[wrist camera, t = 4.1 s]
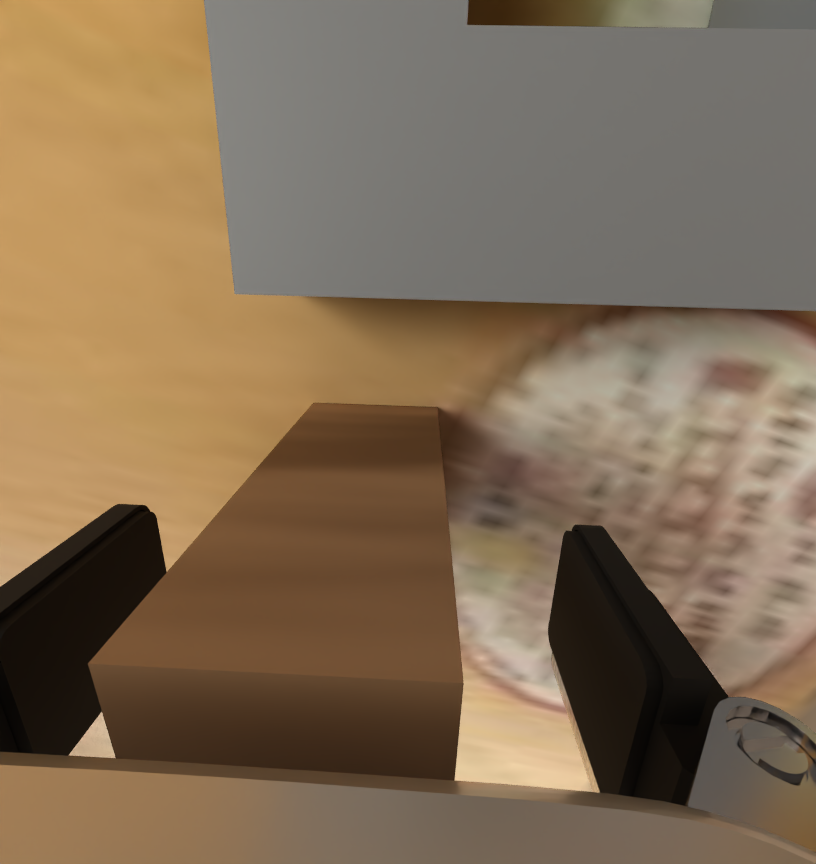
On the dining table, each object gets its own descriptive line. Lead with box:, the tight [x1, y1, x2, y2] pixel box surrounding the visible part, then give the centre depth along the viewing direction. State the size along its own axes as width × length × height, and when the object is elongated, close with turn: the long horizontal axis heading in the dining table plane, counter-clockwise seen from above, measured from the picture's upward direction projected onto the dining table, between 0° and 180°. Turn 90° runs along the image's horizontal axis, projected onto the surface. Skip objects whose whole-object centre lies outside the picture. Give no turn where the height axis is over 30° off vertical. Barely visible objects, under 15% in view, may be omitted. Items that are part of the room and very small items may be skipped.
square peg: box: [88, 403, 463, 781], centre depth 10 cm, size 4×4×10 cm
